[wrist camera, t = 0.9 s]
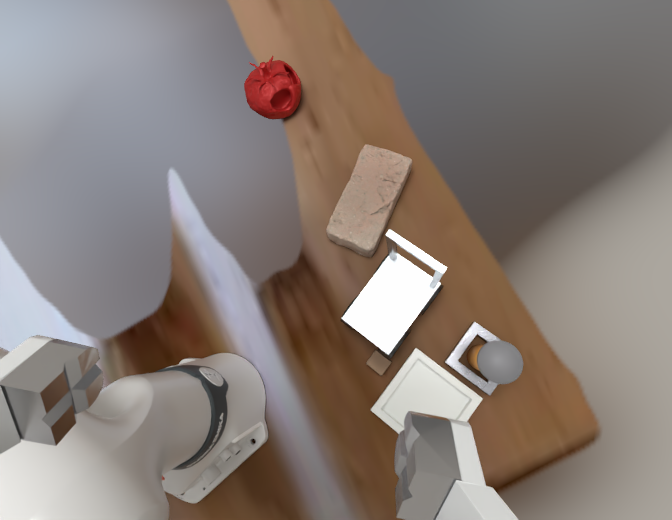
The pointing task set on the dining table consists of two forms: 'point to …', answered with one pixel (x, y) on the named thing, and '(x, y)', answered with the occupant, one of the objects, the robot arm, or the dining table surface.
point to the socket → (461, 347)
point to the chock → (378, 362)
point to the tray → (424, 393)
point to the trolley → (394, 296)
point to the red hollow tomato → (273, 89)
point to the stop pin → (496, 361)
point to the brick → (368, 199)
